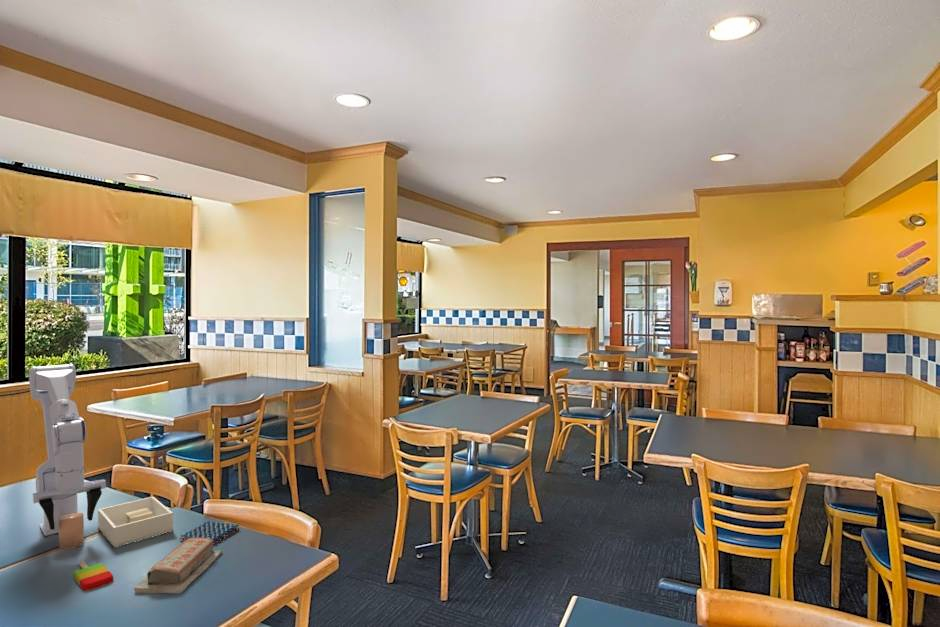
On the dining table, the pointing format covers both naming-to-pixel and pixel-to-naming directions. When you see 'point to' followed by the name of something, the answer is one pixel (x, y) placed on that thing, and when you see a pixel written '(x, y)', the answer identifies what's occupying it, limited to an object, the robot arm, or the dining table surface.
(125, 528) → the tote
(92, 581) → the popsicle
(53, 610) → the dining table surface
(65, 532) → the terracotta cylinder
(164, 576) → the packaged product
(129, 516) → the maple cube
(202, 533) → the woven mat
